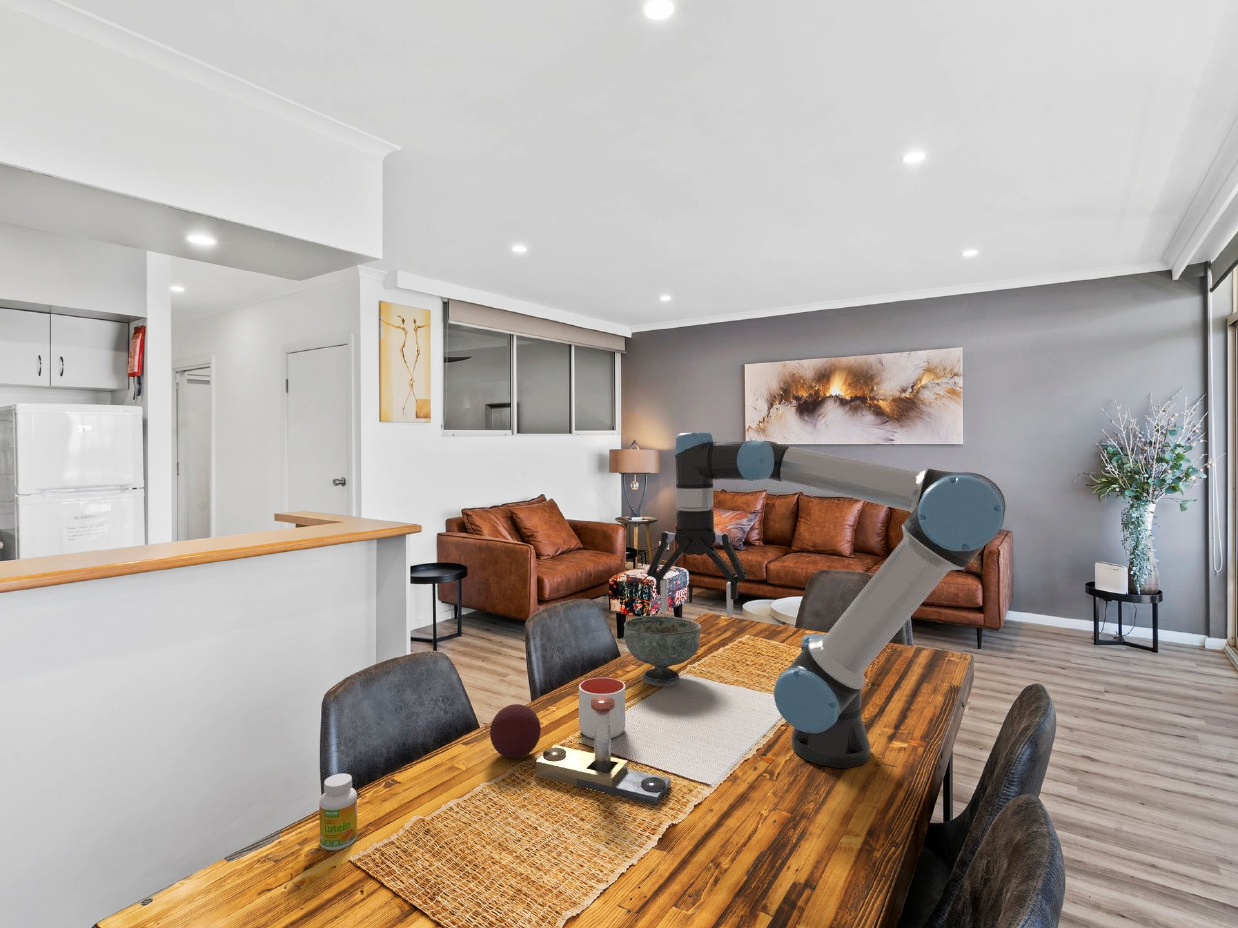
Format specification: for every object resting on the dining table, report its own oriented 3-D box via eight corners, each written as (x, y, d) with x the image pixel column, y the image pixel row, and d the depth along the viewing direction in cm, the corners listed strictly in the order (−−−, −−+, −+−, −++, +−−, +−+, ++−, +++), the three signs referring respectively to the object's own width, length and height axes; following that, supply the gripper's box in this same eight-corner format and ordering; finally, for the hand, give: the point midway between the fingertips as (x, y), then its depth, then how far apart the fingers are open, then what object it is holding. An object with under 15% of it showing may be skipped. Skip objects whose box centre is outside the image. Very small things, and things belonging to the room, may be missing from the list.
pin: (618, 778, 122) (618, 698, 121) (608, 789, 118) (608, 707, 117) (596, 773, 124) (597, 694, 123) (586, 784, 120) (586, 703, 119)
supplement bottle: (319, 854, 99) (318, 791, 99) (320, 835, 104) (319, 774, 104) (357, 846, 101) (357, 784, 101) (356, 827, 106) (356, 768, 106)
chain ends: (671, 786, 119) (671, 768, 119) (658, 805, 113) (658, 786, 113) (553, 759, 129) (553, 742, 129) (535, 776, 123) (535, 758, 122)
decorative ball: (521, 739, 138) (521, 692, 137) (551, 755, 131) (551, 706, 130) (480, 755, 131) (479, 705, 130) (509, 773, 124) (509, 721, 123)
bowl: (711, 674, 176) (712, 619, 176) (678, 698, 160) (678, 637, 160) (647, 661, 187) (648, 609, 186) (610, 682, 171) (610, 625, 170)
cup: (620, 743, 136) (620, 696, 136) (573, 739, 138) (573, 692, 138) (629, 723, 146) (629, 679, 145) (585, 719, 148) (585, 675, 147)
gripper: (759, 507, 132) (761, 612, 133) (642, 506, 141) (644, 604, 141) (754, 511, 125) (755, 621, 126) (630, 509, 134) (632, 613, 134)
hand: (696, 613), depth 134 cm, fingers open, 13 cm apart
